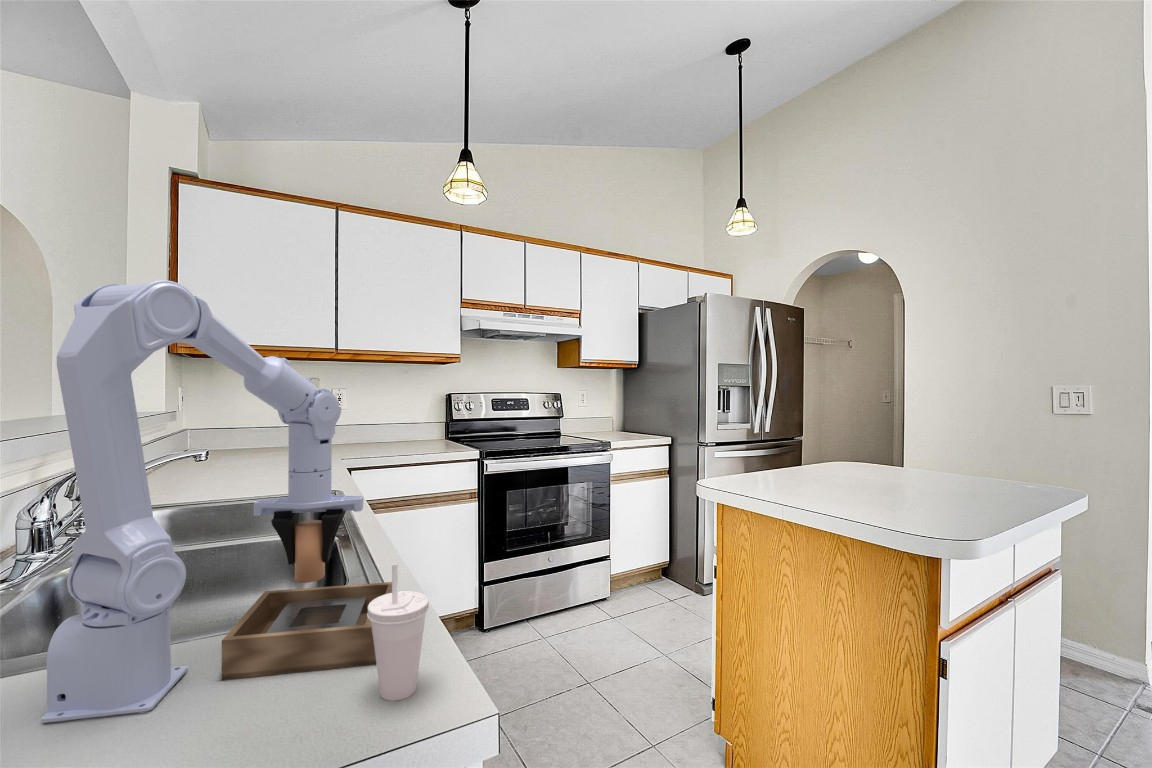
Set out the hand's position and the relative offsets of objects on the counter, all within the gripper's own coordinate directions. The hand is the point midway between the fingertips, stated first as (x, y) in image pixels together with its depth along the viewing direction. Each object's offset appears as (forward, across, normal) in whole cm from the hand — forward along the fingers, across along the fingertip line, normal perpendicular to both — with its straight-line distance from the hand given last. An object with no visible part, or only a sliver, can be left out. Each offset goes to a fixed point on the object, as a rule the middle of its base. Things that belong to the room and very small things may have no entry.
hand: (310, 561), depth 79 cm
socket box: (+7, -4, +12) cm, 14 cm away
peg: (+2, 0, 0) cm, 2 cm away
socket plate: (+7, -4, +12) cm, 14 cm away
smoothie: (+7, -15, +25) cm, 30 cm away
